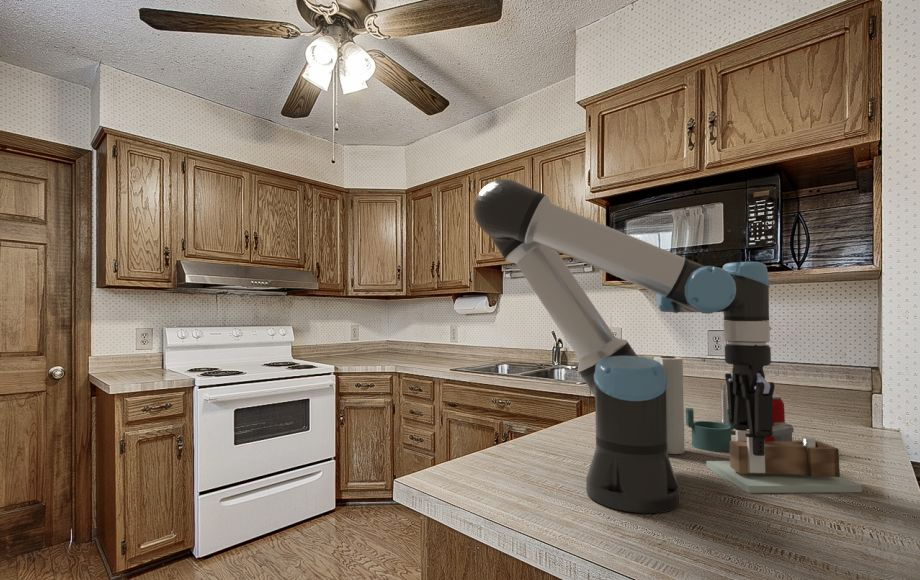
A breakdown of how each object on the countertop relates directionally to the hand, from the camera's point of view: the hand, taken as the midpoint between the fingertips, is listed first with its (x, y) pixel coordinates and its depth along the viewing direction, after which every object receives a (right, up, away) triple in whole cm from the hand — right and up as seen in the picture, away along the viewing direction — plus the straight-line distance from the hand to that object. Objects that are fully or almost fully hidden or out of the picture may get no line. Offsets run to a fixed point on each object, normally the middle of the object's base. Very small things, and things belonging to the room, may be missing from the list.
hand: (750, 468), depth 90 cm
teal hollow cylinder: (+4, -4, +23) cm, 24 cm away
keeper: (+9, -3, +6) cm, 11 cm away
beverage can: (+18, -3, +22) cm, 28 cm away
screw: (+15, -4, +36) cm, 39 cm away
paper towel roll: (-7, -3, +19) cm, 20 cm away
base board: (+6, -2, +1) cm, 6 cm away
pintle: (+11, -1, 0) cm, 11 cm away
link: (+6, 0, 0) cm, 6 cm away
